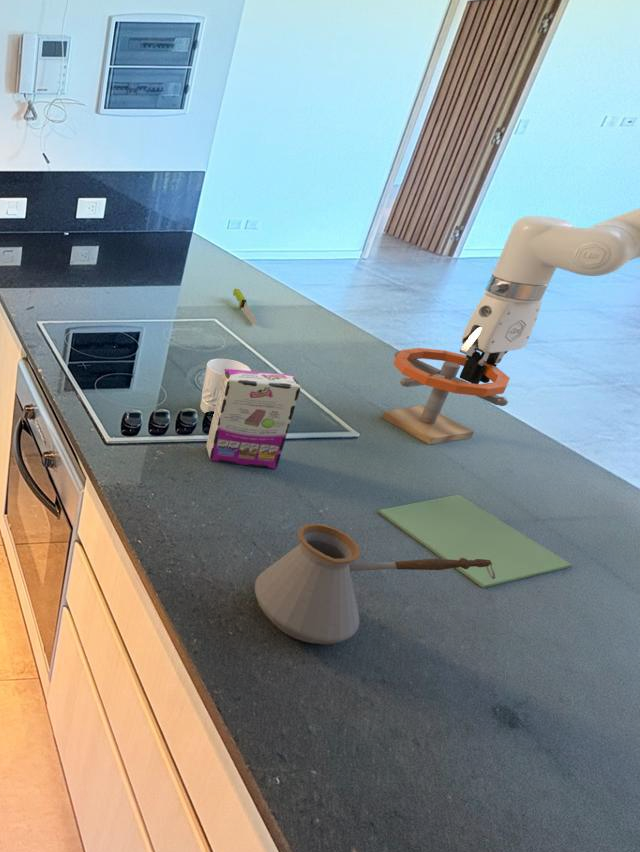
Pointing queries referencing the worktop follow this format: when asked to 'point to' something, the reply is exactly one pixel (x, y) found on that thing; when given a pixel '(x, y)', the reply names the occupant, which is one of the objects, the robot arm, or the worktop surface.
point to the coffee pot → (326, 584)
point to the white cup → (216, 380)
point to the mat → (474, 539)
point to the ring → (448, 385)
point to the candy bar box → (252, 417)
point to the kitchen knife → (244, 305)
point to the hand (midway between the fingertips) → (473, 379)
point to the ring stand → (433, 409)
